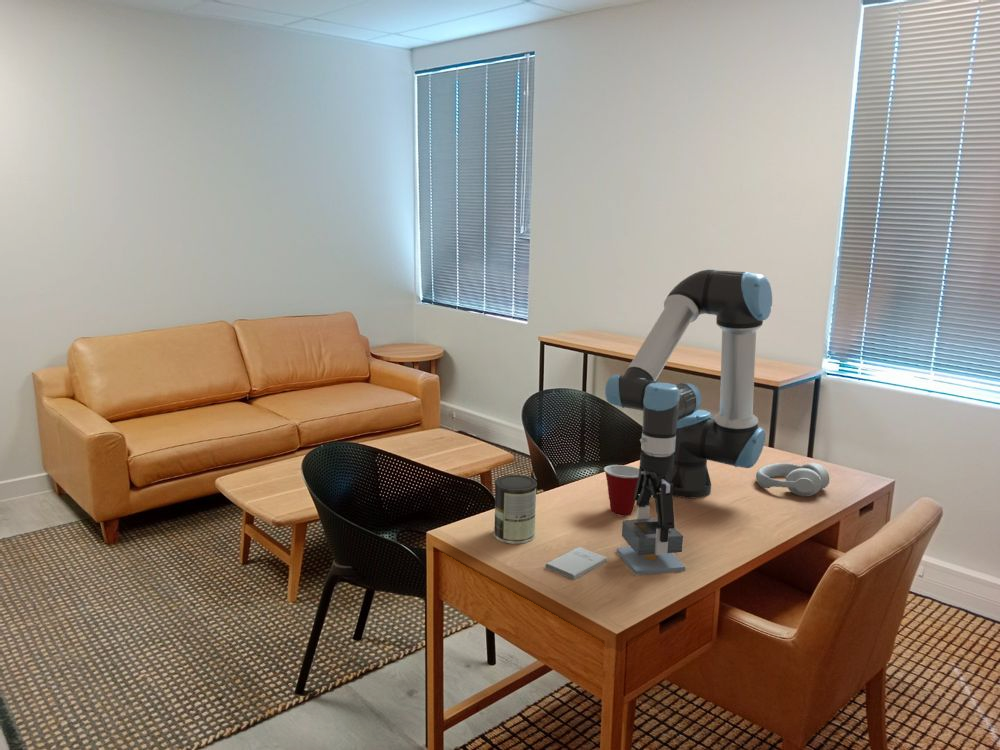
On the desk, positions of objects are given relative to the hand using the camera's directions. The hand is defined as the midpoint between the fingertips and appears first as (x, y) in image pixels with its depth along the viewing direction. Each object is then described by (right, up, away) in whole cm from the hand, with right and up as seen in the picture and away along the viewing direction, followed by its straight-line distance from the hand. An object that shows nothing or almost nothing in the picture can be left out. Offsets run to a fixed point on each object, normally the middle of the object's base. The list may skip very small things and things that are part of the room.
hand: (651, 542), depth 180 cm
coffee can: (-31, -1, +13) cm, 34 cm away
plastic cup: (-2, +2, +30) cm, 30 cm away
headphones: (+51, +5, +50) cm, 72 cm away
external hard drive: (-17, -5, -1) cm, 18 cm away
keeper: (0, -4, +1) cm, 5 cm away
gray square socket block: (0, 0, 0) cm, 0 cm away
